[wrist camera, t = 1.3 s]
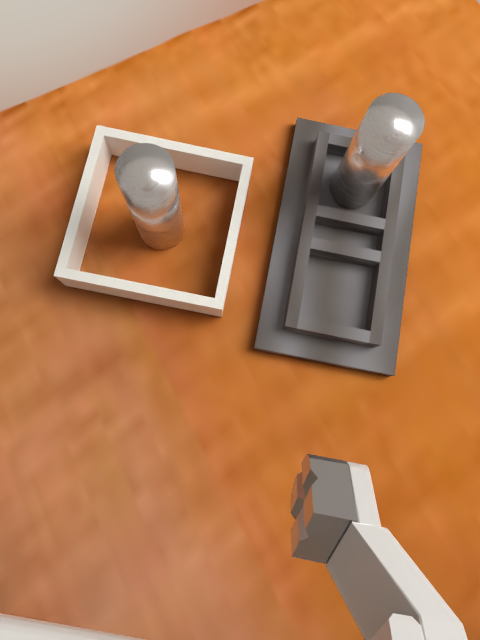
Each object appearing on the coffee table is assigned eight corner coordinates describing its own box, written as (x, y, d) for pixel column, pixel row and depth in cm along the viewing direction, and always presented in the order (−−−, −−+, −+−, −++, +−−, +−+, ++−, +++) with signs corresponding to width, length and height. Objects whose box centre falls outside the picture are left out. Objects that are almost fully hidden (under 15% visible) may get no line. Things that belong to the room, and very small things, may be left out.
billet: (188, 212, 40) (180, 149, 30) (179, 254, 39) (167, 203, 29) (144, 203, 40) (122, 137, 30) (134, 245, 39) (108, 191, 29)
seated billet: (375, 173, 41) (427, 99, 31) (369, 213, 40) (421, 150, 30) (333, 164, 40) (371, 87, 31) (326, 204, 40) (363, 138, 30)
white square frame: (250, 175, 41) (253, 157, 38) (221, 317, 38) (222, 309, 35) (105, 145, 40) (97, 125, 38) (65, 285, 38) (53, 275, 35)
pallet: (417, 150, 42) (430, 134, 40) (389, 376, 38) (402, 374, 36) (295, 124, 42) (300, 106, 40) (253, 349, 38) (256, 345, 35)
